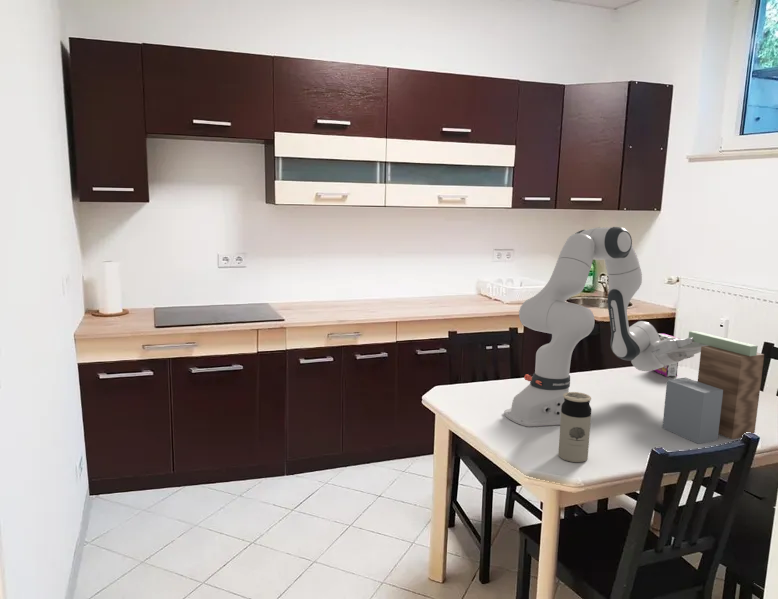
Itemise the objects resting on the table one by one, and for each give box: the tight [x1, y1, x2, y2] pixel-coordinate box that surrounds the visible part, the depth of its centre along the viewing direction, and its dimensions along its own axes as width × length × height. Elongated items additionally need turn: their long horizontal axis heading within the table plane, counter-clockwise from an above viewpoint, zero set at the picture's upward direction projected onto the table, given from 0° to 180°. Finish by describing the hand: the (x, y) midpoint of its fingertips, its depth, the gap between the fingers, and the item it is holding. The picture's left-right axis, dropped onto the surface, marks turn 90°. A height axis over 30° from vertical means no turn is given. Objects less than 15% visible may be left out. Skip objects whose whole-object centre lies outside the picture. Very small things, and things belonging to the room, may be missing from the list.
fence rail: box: [687, 330, 758, 356], centre depth 189 cm, size 3×22×3 cm, turn 23°
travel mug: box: [557, 391, 592, 463], centre depth 165 cm, size 8×8×18 cm
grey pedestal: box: [661, 377, 723, 445], centre depth 184 cm, size 8×14×16 cm, turn 23°
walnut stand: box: [697, 346, 765, 440], centre depth 188 cm, size 10×14×26 cm
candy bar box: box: [652, 333, 680, 378], centre depth 250 cm, size 11×5×16 cm, turn 10°
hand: (702, 338), depth 195 cm, fingers open, 8 cm apart
